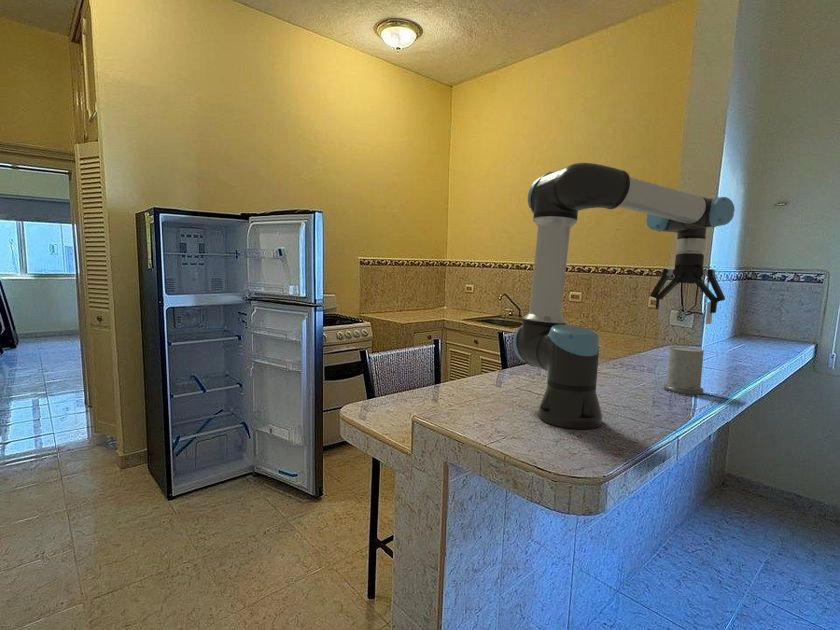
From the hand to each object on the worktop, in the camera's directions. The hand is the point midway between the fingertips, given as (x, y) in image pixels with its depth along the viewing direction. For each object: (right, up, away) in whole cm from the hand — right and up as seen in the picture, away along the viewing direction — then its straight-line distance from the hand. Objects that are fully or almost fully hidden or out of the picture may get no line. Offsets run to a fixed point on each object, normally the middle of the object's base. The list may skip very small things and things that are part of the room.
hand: (683, 321), depth 137 cm
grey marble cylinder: (+3, -21, +5) cm, 22 cm away
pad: (+3, -23, +5) cm, 24 cm away
